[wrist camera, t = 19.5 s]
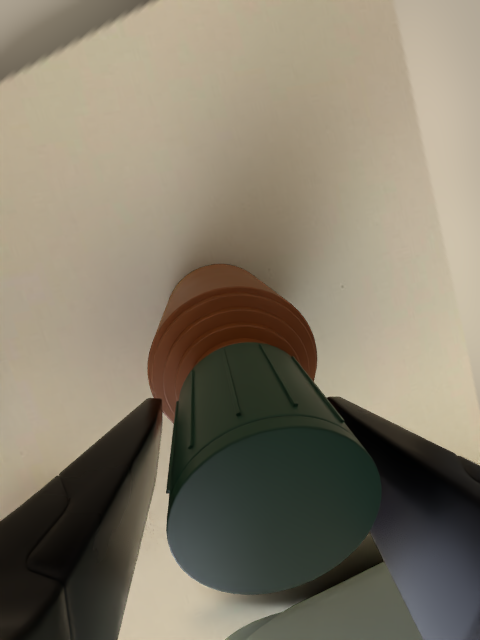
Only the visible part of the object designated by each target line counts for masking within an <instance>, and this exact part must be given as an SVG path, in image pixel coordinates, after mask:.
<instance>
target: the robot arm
mask: <svg viewBox="0 0 480 640" xmlns="http://www.w3.org/2000/svg"><path fill="white" fill-rule="evenodd" d="M327 399H328V401H329V402H330V403H331V404H332V406H333V407H334V408H335V409H336V411H337V412H338V413H339V414H340V416H341V417H342V418H343V420H344V423H345V424H346V425H347V427H348V428H349V429H350V431H351V432H352V433H353V434H354V436H355V437H356V438H357V440H358V441H359V442H360V443H361V445H362V446H363V447H364V448H365V450H366V451H367V452H368V454H369V455H370V456H371V457H372V459H373V461H374V463H375V465H376V467H377V469H378V472H379V475H380V480H381V487H382V492H381V503H380V508H379V511H378V514H377V517H376V520H375V522H374V524H373V526H372V528H371V530H370V531H369V532H370V534H371V536H372V538H373V540H374V542H375V544H376V546H377V548H378V550H379V552H380V554H381V556H382V558H383V560H384V562H385V564H386V566H387V568H388V570H389V572H390V574H391V576H392V578H393V580H394V582H395V584H396V586H397V588H398V590H399V592H400V594H401V596H402V598H403V600H404V602H405V604H406V606H407V608H408V610H409V612H410V614H411V616H412V618H413V620H414V622H415V624H416V626H417V628H418V631H419V633H420V635H421V637H422V639H423V640H480V466H479V465H477V464H475V463H473V462H471V461H469V460H467V459H465V458H463V457H461V456H457V455H456V454H455V453H453V452H451V451H449V450H447V449H444V448H442V447H440V446H438V445H436V444H434V443H432V442H430V441H428V440H426V439H424V438H422V437H420V436H418V435H416V434H414V433H412V432H410V431H408V430H406V429H404V428H402V427H400V426H398V425H396V424H394V423H392V422H390V421H388V420H386V419H384V418H382V417H380V416H378V415H375V414H373V413H371V412H369V411H367V410H365V409H363V408H361V407H359V406H357V405H355V404H353V403H351V402H349V401H347V400H345V399H343V398H341V397H328V398H327ZM161 433H162V399H161V398H148V399H146V400H145V401H144V402H143V403H141V404H140V405H139V406H138V407H137V408H136V409H134V410H133V411H132V412H131V413H130V414H129V415H127V416H126V417H125V418H124V419H123V420H122V421H120V422H119V423H118V424H117V425H116V426H115V427H113V428H112V429H111V430H110V431H109V432H108V433H106V434H105V435H104V436H103V437H102V438H101V439H99V440H98V441H97V442H96V443H95V444H94V445H92V446H91V447H90V448H89V449H88V450H86V451H85V452H84V453H83V454H82V455H81V456H79V457H78V458H77V459H76V460H75V461H74V462H72V463H71V464H70V465H69V466H68V467H67V468H65V469H64V470H63V471H62V472H61V473H60V474H59V476H56V477H55V478H54V479H52V480H51V481H50V482H49V483H48V484H46V485H45V486H44V487H43V488H42V489H41V490H39V491H38V492H37V493H36V494H34V495H33V496H32V497H31V498H30V499H28V500H27V501H26V502H25V503H23V504H22V505H21V506H20V507H19V508H17V509H16V510H15V511H13V512H12V513H11V514H9V515H8V516H7V517H5V518H4V519H3V520H2V521H0V640H117V639H118V635H119V631H120V627H121V623H122V618H123V614H124V610H125V606H126V602H127V598H128V594H129V590H130V585H131V581H132V577H133V573H134V569H135V565H136V561H137V557H138V552H139V548H140V544H141V540H142V536H143V532H144V528H145V523H146V519H147V515H148V511H149V507H150V503H151V499H152V495H153V490H154V486H155V481H156V475H157V467H158V458H159V450H160V441H161Z"/></svg>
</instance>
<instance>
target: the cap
mask: <svg viewBox="0 0 480 640" xmlns="http://www.w3.org/2000/svg"><path fill="white" fill-rule="evenodd" d="M381 492H382V487H381V480H380V475H379V472H378V469H377V467H376V465H375V463H374V461H373V459H372V457H371V456H370V455H369V454H368V452H367V451H366V450H365V448H364V447H363V446H362V445H361V443H360V442H359V441H358V440H357V438H356V437H355V436H354V434H353V433H352V432H351V431H350V429H349V428H348V427H347V425H346V424H345V423H344V420H343V418H342V417H341V416H340V414H339V413H338V412H337V411H336V409H335V408H334V407H333V406H332V404H331V403H330V402H329V401H328V399H327V398H326V397H325V395H324V394H323V393H322V392H321V390H320V389H319V388H318V387H317V385H316V384H315V383H314V381H313V380H312V379H311V378H310V376H309V375H308V374H307V373H306V371H305V370H304V369H303V368H302V366H301V365H300V364H299V362H298V361H297V360H296V359H295V357H294V356H292V357H291V356H290V355H289V354H288V353H286V352H285V351H283V350H281V349H279V348H277V347H275V346H272V345H268V344H264V343H257V342H244V343H237V344H232V345H228V346H225V347H222V348H220V349H218V350H216V351H214V352H212V353H211V354H209V355H207V356H206V357H205V358H203V359H202V360H201V361H200V362H199V363H198V364H197V365H196V366H195V367H194V368H193V369H192V370H191V371H190V373H189V374H188V376H187V377H186V379H185V381H184V383H183V386H182V388H181V391H180V396H179V401H176V409H175V418H174V427H173V436H172V445H171V454H170V463H169V472H168V481H167V490H166V493H170V494H169V506H168V514H167V528H166V531H167V539H168V544H169V547H170V550H171V553H172V555H173V557H174V558H175V560H176V562H177V563H178V565H179V566H180V567H181V568H182V570H183V571H184V572H186V573H187V574H188V575H189V576H190V577H191V578H193V579H194V580H196V581H198V582H199V583H201V584H203V585H205V586H207V587H210V588H212V589H215V590H219V591H222V592H227V593H233V594H244V595H254V594H267V593H273V592H278V591H283V590H287V589H290V588H294V587H297V586H299V585H302V584H305V583H307V582H309V581H312V580H314V579H316V578H318V577H320V576H322V575H323V574H325V573H327V572H328V571H330V570H331V569H333V568H334V567H336V566H337V565H339V564H340V563H341V562H342V561H344V560H345V559H346V558H347V557H348V556H349V555H350V554H351V553H352V552H353V551H354V550H355V549H356V548H357V547H358V546H359V545H360V544H361V542H362V541H363V540H364V539H365V537H366V536H367V534H368V533H369V531H370V530H371V528H372V526H373V524H374V522H375V520H376V517H377V514H378V511H379V508H380V503H381Z"/></svg>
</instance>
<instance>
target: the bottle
mask: <svg viewBox="0 0 480 640" xmlns="http://www.w3.org/2000/svg"><path fill="white" fill-rule="evenodd" d="M244 342H257V343H264V344H268V345H272V346H275V347H277V348H279V349H281V350H283V351H285V352H286V353H288V354H289V355H290V356H291V357H292V356H294V357H295V359H296V360H297V361H298V362H299V364H300V365H301V366H302V368H303V369H304V370H305V371H306V373H307V374H308V375H309V376H310V378H311V379H312V380H313V381H314V378H315V373H316V368H317V350H316V344H315V339H314V336H313V334H312V331H311V329H310V327H309V325H308V323H307V321H306V320H305V318H304V317H303V316H302V315H301V313H300V312H299V311H298V310H297V309H296V308H295V307H294V306H293V305H292V304H290V303H289V302H288V301H286V300H285V299H284V298H283V297H281V296H280V295H279V294H277V293H276V292H275V291H273V290H272V289H271V288H269V287H268V286H267V285H265V284H264V283H263V282H261V281H260V280H259V279H257V278H256V277H255V276H253V275H252V274H251V273H249V272H248V271H246V270H244V269H242V268H239V267H236V266H233V265H227V264H213V265H208V266H204V267H201V268H199V269H196V270H194V271H192V272H191V273H189V274H188V275H187V276H185V277H184V278H183V279H182V280H181V281H180V282H179V283H178V284H177V286H176V287H175V289H174V290H173V292H172V294H171V296H170V298H169V301H168V303H167V306H166V309H165V311H164V314H163V316H162V319H161V321H160V324H159V327H158V329H157V332H156V334H155V337H154V340H153V342H152V345H151V349H150V352H149V358H148V380H149V385H150V389H151V392H152V395H153V397H154V398H161V399H162V412H163V413H164V414H165V415H166V416H167V418H168V419H169V420H171V422H172V423H174V418H175V409H176V401H179V396H180V391H181V388H182V386H183V383H184V381H185V379H186V377H187V376H188V374H189V373H190V371H191V370H192V369H193V368H194V367H195V366H196V365H197V364H198V363H199V362H200V361H201V360H202V359H203V358H205V357H206V356H207V355H209V354H211V353H212V352H214V351H216V350H218V349H220V348H222V347H225V346H228V345H232V344H237V343H244Z"/></svg>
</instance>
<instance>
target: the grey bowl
mask: <svg viewBox="0 0 480 640" xmlns="http://www.w3.org/2000/svg"><path fill="white" fill-rule="evenodd" d="M225 640H423V639H422V637H421V635H420V633H419V631H418V628H417V626H416V624H415V622H414V620H413V618H412V616H411V614H410V612H409V610H408V608H407V606H406V604H405V602H404V600H403V598H402V596H401V594H400V592H399V590H398V588H397V586H396V584H395V582H394V580H393V578H392V576H391V574H390V572H389V570H388V568H387V566H386V564H385V562H382V563H380V564H378V565H376V566H374V567H372V568H370V569H368V570H366V571H364V572H362V573H360V574H358V575H356V576H354V577H352V578H350V579H348V580H346V581H344V582H342V583H340V584H338V585H336V586H334V587H331V588H329V589H327V590H325V591H323V592H321V593H319V594H317V595H315V596H313V597H311V598H309V599H306V600H304V601H302V602H300V603H298V604H296V605H294V606H292V607H290V608H288V609H287V610H285V611H284V612H280V613H277V614H274V615H270V616H268V617H265V618H262V619H260V620H257V621H254V622H252V623H250V624H248V625H246V626H244V627H242V628H241V629H239V630H238V631H236V632H235V633H233V634H232V635H230V636H229V637H228V638H226V639H225Z"/></svg>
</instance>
